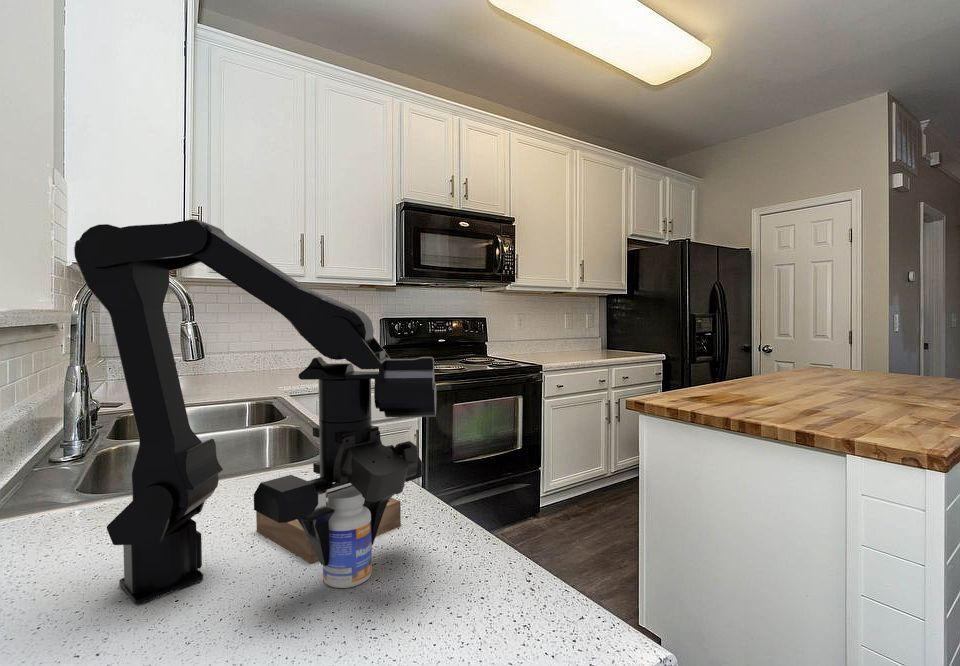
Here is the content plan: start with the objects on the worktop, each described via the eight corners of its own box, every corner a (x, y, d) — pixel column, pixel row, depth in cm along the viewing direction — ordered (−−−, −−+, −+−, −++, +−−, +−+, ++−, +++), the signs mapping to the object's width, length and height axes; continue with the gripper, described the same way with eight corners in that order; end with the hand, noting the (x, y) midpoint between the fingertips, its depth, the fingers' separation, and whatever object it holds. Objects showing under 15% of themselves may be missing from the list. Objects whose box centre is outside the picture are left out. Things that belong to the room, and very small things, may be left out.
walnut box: (311, 563, 58) (310, 534, 58) (256, 531, 67) (256, 506, 67) (400, 525, 69) (400, 500, 69) (343, 502, 78) (342, 480, 78)
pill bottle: (365, 590, 53) (364, 501, 52) (315, 589, 53) (314, 500, 52) (376, 564, 58) (375, 484, 58) (332, 564, 58) (330, 484, 58)
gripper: (308, 446, 43) (311, 621, 43) (454, 414, 57) (455, 546, 57) (249, 428, 50) (252, 579, 50) (392, 404, 64) (393, 521, 64)
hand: (347, 554), depth 55 cm, fingers open, 6 cm apart
